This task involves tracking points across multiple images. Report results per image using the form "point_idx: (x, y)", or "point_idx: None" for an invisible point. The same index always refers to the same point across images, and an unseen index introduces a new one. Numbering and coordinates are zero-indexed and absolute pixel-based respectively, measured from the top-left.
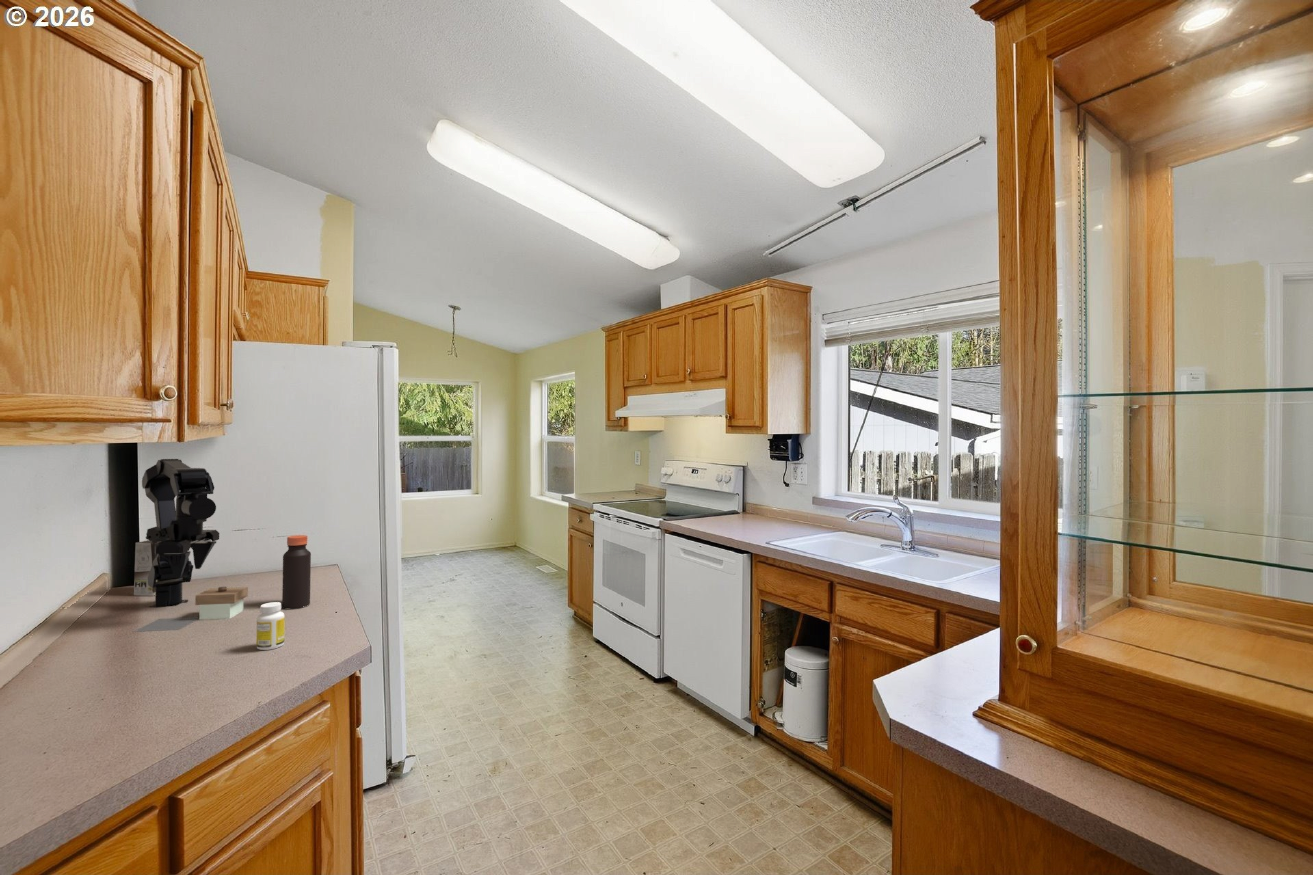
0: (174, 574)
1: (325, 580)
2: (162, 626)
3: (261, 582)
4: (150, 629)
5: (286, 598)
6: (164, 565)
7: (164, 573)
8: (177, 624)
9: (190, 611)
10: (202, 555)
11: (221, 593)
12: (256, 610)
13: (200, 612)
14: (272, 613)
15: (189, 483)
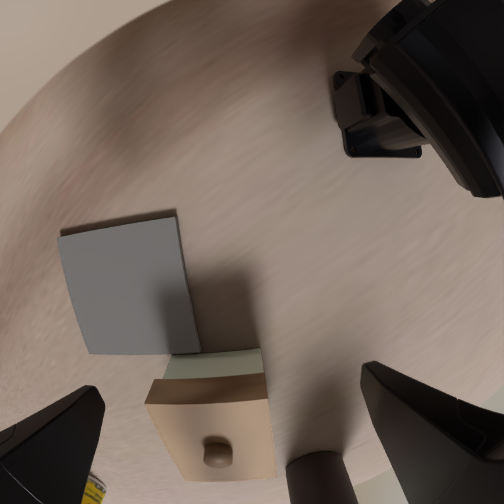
0: (69, 396)
1: (498, 381)
2: (101, 292)
3: None
4: (75, 276)
5: (291, 485)
6: (425, 62)
7: (392, 84)
8: (121, 324)
9: (298, 246)
10: (410, 471)
11: (186, 457)
12: (287, 425)
13: (165, 375)
14: None
15: None
